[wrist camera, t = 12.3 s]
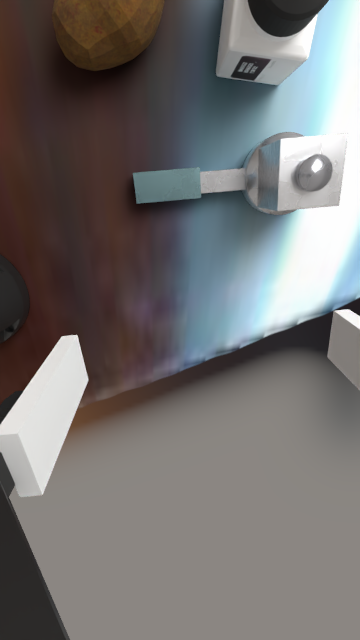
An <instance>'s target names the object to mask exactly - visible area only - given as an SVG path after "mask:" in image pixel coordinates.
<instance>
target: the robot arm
mask: <svg viewBox="0 0 360 640" xmlns="http://www.w3.org/2000/svg"><path fill="white" fill-rule="evenodd" d="M29 305H30V303H29V294H28V290H27V287H26V285H25V282H24V280H23V278H22V277H21V275H20V274H19V272H18V271H17V270H16V268H15V267H14V266H13V265H12V264H11V263H10V262H9V261H8V260H7V259H6V258H4V257H3V256H2V255H0V343H2V342H4V341H6V340H7V339H9V338H10V337H12V336H13V335H14V334H15V333H16V332H17V331H18V330H19V329H20V328H21V327H22V325H23V324H24V322H25V321H26V318H27V316H28V312H29ZM328 358H329V359H330V360H331V361H332V362H333V363H334V365H335V366H336V367H337V368H338V369H339V370H340V371H341V372H342V373H343V374H344V375H345V376H346V377H347V378H348V379H349V380H350V381H351V382H352V383H353V384H354V385H355V386H356V387H357V388H358V389H359V390H360V316H358V315H356V314H355V313H353V312H352V311H350V310H349V309H348V310H338V311H334V314H333V321H332V328H331V335H330V342H329V350H328ZM87 382H88V377H87V373H86V368H85V364H84V360H83V356H82V352H81V348H80V344H79V340H78V336H77V335H70V336H62V337H61V339H60V340H59V341H58V343H57V344H56V346H55V347H54V349H53V350H52V351H51V353H50V354H49V356H48V357H47V359H46V360H45V361H44V363H43V364H42V366H41V367H40V369H39V370H38V371H37V373H36V374H35V376H34V377H33V379H32V380H31V381H30V383H29V384H28V386H27V387H26V389H25V390H24V391H16V392H14V393H13V394H12V395H10V396H9V397H8V398H6V399H5V400H4V401H3V402H2V404H1V405H0V640H70V639H69V636H68V634H67V632H66V629H65V627H64V625H63V623H62V620H61V618H60V615H59V613H58V611H57V608H56V606H55V604H54V601H53V599H52V597H51V595H50V592H49V590H48V587H47V585H46V583H45V580H44V578H43V576H42V573H41V571H40V569H39V566H38V564H37V562H36V559H35V557H34V555H33V552H32V550H31V548H30V545H29V543H28V541H27V538H26V536H25V534H24V531H23V529H22V527H21V524H20V522H19V520H18V518H17V515H16V513H15V510H14V508H13V506H12V504H11V501H10V499H9V495H10V494H11V492H12V490H13V488H14V486H15V488H16V490H17V492H18V494H19V497H28V496H38V495H42V494H43V492H44V490H45V487H46V485H47V482H48V480H49V477H50V475H51V472H52V470H53V467H54V465H55V462H56V460H57V457H58V455H59V452H60V450H61V447H62V445H63V442H64V440H65V437H66V435H67V432H68V429H69V427H70V425H71V422H72V420H73V417H74V415H75V412H76V410H77V407H78V405H79V402H80V400H81V397H82V395H83V392H84V390H85V387H86V385H87Z"/></svg>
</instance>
